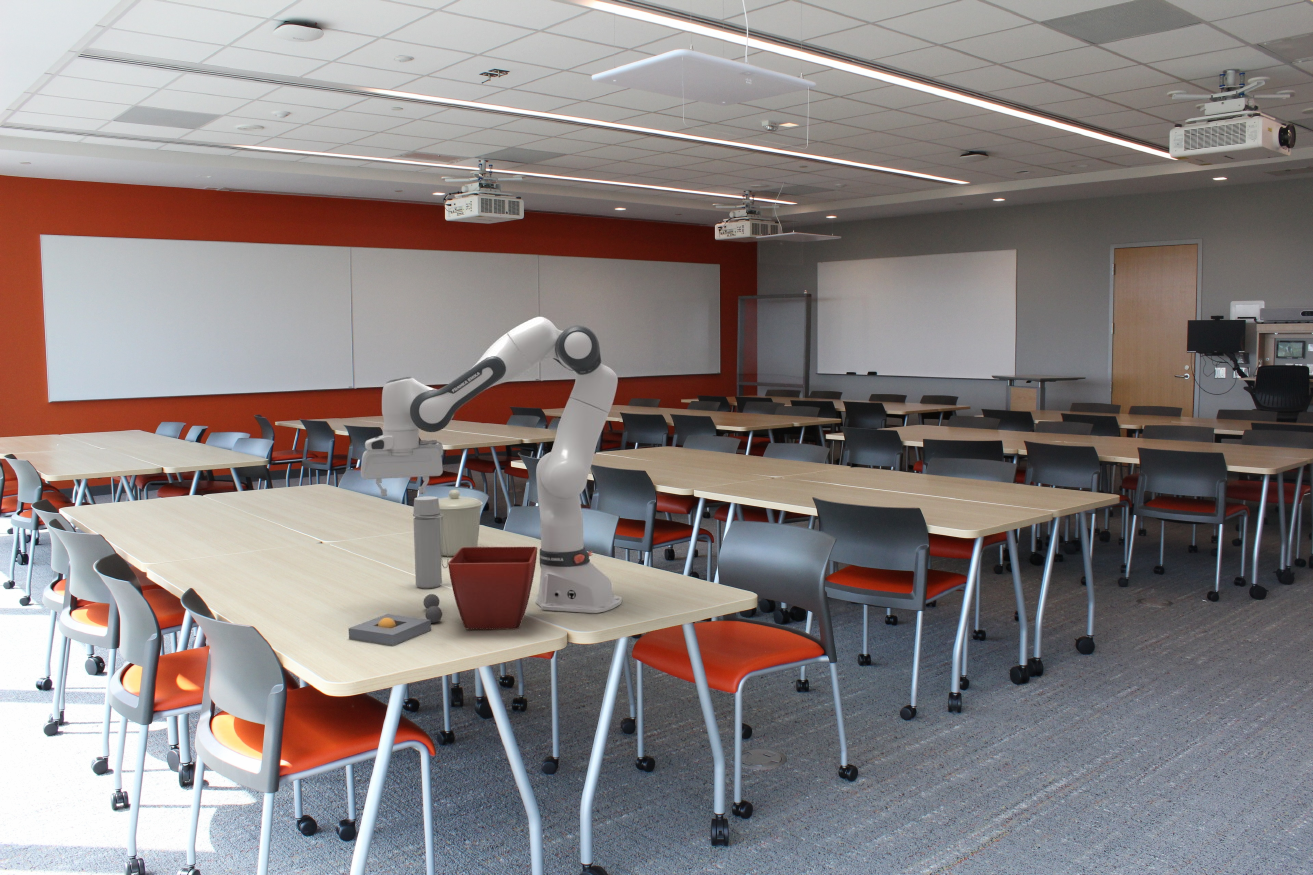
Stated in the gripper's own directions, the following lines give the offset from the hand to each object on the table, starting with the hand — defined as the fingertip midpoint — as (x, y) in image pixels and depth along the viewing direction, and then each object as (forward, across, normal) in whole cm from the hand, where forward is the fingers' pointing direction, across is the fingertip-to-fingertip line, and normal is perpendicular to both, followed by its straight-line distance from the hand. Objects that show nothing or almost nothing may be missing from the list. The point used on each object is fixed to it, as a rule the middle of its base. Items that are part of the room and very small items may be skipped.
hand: (402, 494), depth 241 cm
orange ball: (+27, +6, +24) cm, 37 cm away
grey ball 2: (+27, -5, +18) cm, 33 cm away
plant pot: (+29, -19, +23) cm, 42 cm away
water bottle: (+29, -8, -20) cm, 36 cm away
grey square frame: (+29, +6, +24) cm, 38 cm away
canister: (+29, -20, -62) cm, 71 cm away
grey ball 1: (+27, -6, +6) cm, 28 cm away
